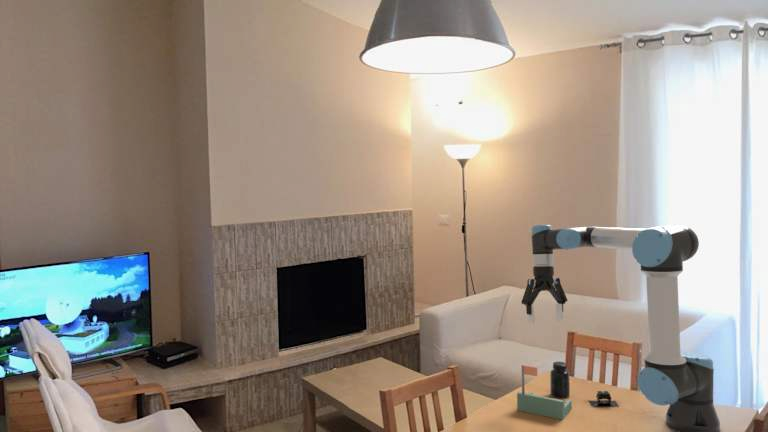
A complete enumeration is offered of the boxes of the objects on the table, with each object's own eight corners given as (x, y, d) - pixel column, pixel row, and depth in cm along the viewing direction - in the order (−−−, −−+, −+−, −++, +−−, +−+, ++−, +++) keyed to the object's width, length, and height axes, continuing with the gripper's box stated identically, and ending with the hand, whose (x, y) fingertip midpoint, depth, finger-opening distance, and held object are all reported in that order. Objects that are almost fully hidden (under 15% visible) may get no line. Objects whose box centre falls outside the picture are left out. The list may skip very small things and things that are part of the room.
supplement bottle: (546, 395, 212) (546, 363, 211) (556, 390, 216) (556, 359, 216) (563, 399, 207) (563, 367, 206) (573, 394, 211) (572, 363, 210)
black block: (619, 401, 205) (618, 389, 205) (625, 409, 198) (625, 396, 197) (583, 401, 206) (583, 388, 206) (588, 409, 199) (588, 396, 199)
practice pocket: (528, 400, 207) (527, 357, 206) (572, 409, 198) (571, 363, 197) (517, 410, 199) (516, 365, 198) (562, 419, 189) (562, 372, 189)
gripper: (561, 265, 224) (564, 319, 223) (510, 266, 214) (512, 323, 212) (575, 264, 218) (578, 320, 216) (523, 266, 207) (525, 325, 205)
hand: (545, 322), depth 214 cm, fingers open, 13 cm apart
